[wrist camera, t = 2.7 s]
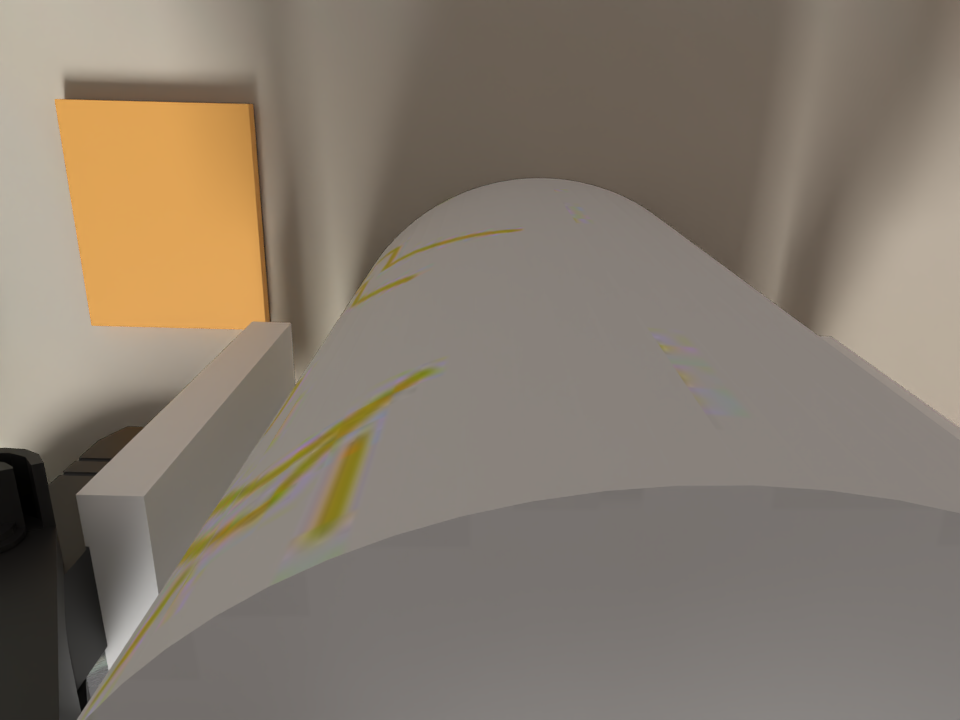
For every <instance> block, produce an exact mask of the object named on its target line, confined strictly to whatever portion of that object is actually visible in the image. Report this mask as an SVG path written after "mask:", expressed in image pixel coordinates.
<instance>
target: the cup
mask: <svg viewBox="0 0 960 720" xmlns="http://www.w3.org/2000/svg"><path fill="white" fill-rule="evenodd" d="M77 720H960V440H959V439H957V438H956V437H955V436H953V435H952V434H951V433H949V432H948V431H947V430H945V429H944V428H943V427H941V426H940V425H938V424H937V423H936V422H934V421H933V420H932V419H930V418H929V417H928V416H926V415H925V414H924V413H922V412H921V411H920V410H918V409H917V408H915V407H914V406H913V405H911V404H910V403H909V402H907V401H906V400H905V399H903V398H902V397H901V396H899V395H898V394H896V393H895V392H894V391H892V390H891V389H890V388H888V387H887V386H886V385H884V384H883V383H882V382H880V381H879V380H878V379H876V378H875V377H873V376H872V375H871V374H869V373H868V372H867V371H865V370H864V369H863V368H861V367H860V366H859V365H857V364H856V363H854V362H853V361H852V360H850V359H849V358H848V357H846V356H845V355H844V354H842V353H841V352H840V351H838V350H837V349H835V348H834V347H833V346H831V345H830V344H829V343H827V342H826V341H825V340H823V339H822V338H821V337H819V336H818V335H817V334H815V333H814V332H812V331H811V330H810V329H808V328H807V327H806V326H804V325H803V324H802V323H800V322H799V321H798V320H796V319H795V318H793V317H792V316H791V315H789V314H788V313H787V312H785V311H784V310H783V309H781V308H780V307H779V306H777V305H776V304H775V303H773V302H772V301H770V300H769V299H768V298H766V297H765V296H764V295H762V294H761V293H760V292H758V291H757V290H756V289H754V288H753V287H751V286H750V285H749V284H747V283H746V282H745V281H743V280H742V279H741V278H739V277H738V276H737V275H735V274H734V273H732V272H731V271H730V270H728V269H727V268H726V267H724V266H723V265H722V264H720V263H719V262H718V261H716V260H715V259H714V258H712V257H711V256H709V255H708V254H707V253H705V252H704V251H703V250H701V249H700V248H699V247H697V246H696V245H695V244H693V243H692V242H690V241H689V240H688V239H686V238H685V237H684V236H682V235H681V234H680V233H678V232H677V231H676V230H674V229H673V228H671V227H670V226H669V225H667V224H666V223H665V222H663V221H662V220H661V219H659V218H658V217H657V216H655V215H654V214H653V213H651V212H650V211H648V210H646V209H645V208H643V207H642V206H640V205H639V204H637V203H635V202H633V201H631V200H629V199H627V198H625V197H623V196H621V195H619V194H616V193H614V192H612V191H609V190H606V189H603V188H600V187H597V186H594V185H590V184H586V183H582V182H577V181H570V180H564V179H552V178H526V179H515V180H508V181H502V182H497V183H493V184H489V185H485V186H481V187H478V188H475V189H472V190H469V191H466V192H464V193H462V194H459V195H457V196H455V197H452V198H450V199H448V200H447V201H445V202H443V203H441V204H439V205H437V206H436V207H434V208H432V209H431V210H429V211H428V212H426V213H425V214H423V215H422V216H421V217H419V218H418V219H417V220H415V221H414V222H413V223H411V224H410V225H409V226H408V227H407V228H406V229H405V230H404V231H402V232H401V233H400V234H399V235H398V236H397V237H396V238H395V239H394V240H393V242H392V243H391V244H390V245H389V246H388V247H387V248H386V250H385V251H384V252H383V253H382V255H381V256H380V257H379V259H378V260H377V261H376V263H375V264H374V266H373V267H372V269H371V270H370V272H369V273H368V275H367V277H366V278H365V280H364V281H363V283H362V284H361V286H360V287H359V289H358V290H357V292H356V293H355V295H354V296H353V298H352V299H351V301H350V303H349V304H348V306H347V307H346V309H345V310H344V312H343V313H342V315H341V316H340V318H339V319H338V321H337V322H336V324H335V325H334V327H333V329H332V330H331V332H330V333H329V335H328V336H327V338H326V339H325V341H324V342H323V344H322V345H321V347H320V348H319V350H318V351H317V353H316V355H315V356H314V358H313V359H312V361H311V362H310V364H309V365H308V367H307V368H306V370H305V371H304V373H303V374H302V376H301V377H300V379H299V381H298V382H297V384H296V385H295V387H294V388H293V390H292V391H291V393H290V394H289V396H288V397H287V399H286V400H285V402H284V403H283V405H282V407H281V408H280V410H279V411H278V413H277V414H276V416H275V417H274V419H273V420H272V422H271V423H270V425H269V426H268V428H267V429H266V431H265V433H264V434H263V436H262V437H261V439H260V440H259V442H258V443H257V445H256V446H255V448H254V449H253V451H252V452H251V454H250V455H249V457H248V459H247V460H246V462H245V463H244V465H243V466H242V468H241V469H240V471H239V472H238V474H237V475H236V477H235V478H234V480H233V481H232V483H231V485H230V486H229V488H228V489H227V491H226V492H225V494H224V495H223V497H222V498H221V500H220V501H219V503H218V504H217V506H216V507H215V509H214V511H213V512H212V514H211V515H210V517H209V518H208V520H207V521H206V523H205V524H204V526H203V527H202V529H201V530H200V532H199V533H198V535H197V537H196V538H195V540H194V541H193V543H192V544H191V546H190V547H189V549H188V550H187V552H186V553H185V555H184V556H183V558H182V560H181V561H180V563H179V564H178V566H177V567H176V569H175V570H174V572H173V573H172V575H171V576H170V578H169V579H168V581H167V582H166V584H165V586H164V587H163V589H162V590H161V592H160V593H159V595H158V596H157V598H156V599H155V601H154V602H153V604H152V605H151V607H150V608H149V610H148V612H147V613H146V615H145V616H144V618H143V619H142V621H141V622H140V624H139V625H138V627H137V628H136V630H135V631H134V633H133V634H132V636H131V638H130V639H129V641H128V642H127V644H126V645H125V647H124V648H123V650H122V651H121V653H120V654H119V656H118V657H117V659H116V660H115V662H114V664H113V665H112V667H111V668H110V670H109V671H108V673H107V674H106V676H105V677H104V679H103V680H102V682H101V683H100V685H99V686H98V688H97V690H96V691H95V693H94V694H93V696H92V697H91V699H90V700H89V702H88V703H87V705H86V706H85V708H84V709H83V711H82V712H81V714H80V716H79V717H78V719H77Z"/></svg>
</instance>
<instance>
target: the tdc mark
mask: <svg viewBox="0 0 960 720" xmlns="http://www.w3.org/2000/svg"><path fill="white" fill-rule="evenodd" d="M55 105H56V111H57V117H58V123H59V129H60V135H61V141H62V147H63V154H64V160H65V166H66V172H67V178H68V184H69V190H70V196H71V203H72V209H73V215H74V221H75V227H76V233H77V239H78V245H79V251H80V258H81V264H82V270H83V276H84V282H85V288H86V294H87V300H88V307H89V313H90V319H91V325H92V326H129V327H168V328H207V329H245V328H246V327H247V326H248V325H249V324H250V323H251V322H270V318H269V305H268V292H267V279H266V266H265V253H264V240H263V227H262V214H261V201H260V188H259V175H258V162H257V149H256V136H255V123H254V110H253V104H232V103H193V102H153V101H114V100H75V99H55Z"/></svg>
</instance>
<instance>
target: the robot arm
mask: <svg viewBox="0 0 960 720" xmlns="http://www.w3.org/2000/svg"><path fill="white" fill-rule="evenodd" d="M819 337H821V338H822V339H823V340H825V341H826V342H827V343H829V344H830V345H831V346H833V347H834V348H835V349H837V350H838V351H840V352H841V353H842V354H844V355H845V356H846V357H848V358H849V359H850V360H852V361H853V362H854V363H856V364H857V365H859V366H860V367H861V368H863V369H864V370H865V371H867V372H868V373H869V374H871V375H872V376H873V377H875V378H876V379H878V380H879V381H880V382H882V383H883V384H884V385H886V386H887V387H888V388H890V389H891V390H892V391H894V392H895V393H896V394H898V395H899V396H901V397H902V398H903V399H905V400H906V401H907V402H909V403H910V404H911V405H913V406H914V407H915V408H917V409H918V410H920V411H921V412H922V413H924V414H925V415H926V416H928V417H929V418H930V419H932V420H933V421H934V422H936V423H937V424H938V425H940V426H941V427H943V428H944V429H945V430H947V431H948V432H949V433H951V434H952V435H953V436H955V437H956V438H957V439H959V440H960V428H959V427H958V426H957V425H955V424H954V423H952V422H951V421H950V420H948V419H947V418H945V417H944V416H943V415H941V414H940V413H938V412H937V411H936V410H934V409H933V408H931V407H930V406H929V405H927V404H926V403H924V402H923V401H922V400H920V399H919V398H917V397H916V396H915V395H913V394H912V393H910V392H909V391H908V390H906V389H905V388H903V387H902V386H900V385H899V384H898V383H896V382H895V381H893V380H892V379H891V378H889V377H888V376H886V375H885V374H884V373H882V372H881V371H879V370H878V369H877V368H875V367H874V366H872V365H871V364H870V363H868V362H867V361H865V360H864V359H863V358H861V357H860V356H858V355H857V354H856V353H854V352H853V351H851V350H850V349H848V348H847V347H846V346H844V345H843V344H841V343H840V342H839V341H837V340H836V339H834V338H833V337H832V336H819ZM294 387H295V372H294V357H293V342H292V327H291V323H287V322H251V323H250V324H249V325H248V326H247V327H246V328H245V329H244V330H243V331H242V332H241V333H240V334H239V335H238V336H237V337H236V338H235V339H234V340H233V341H232V342H231V343H230V344H229V345H228V346H227V347H226V348H225V349H224V350H223V351H222V352H221V353H220V354H219V355H218V356H217V357H216V358H215V359H214V360H213V361H212V362H211V363H210V364H209V365H208V366H207V367H206V368H204V369H203V370H202V371H201V372H200V373H199V374H198V375H197V376H196V377H195V378H194V379H193V380H192V381H191V382H190V383H189V384H188V385H187V386H186V387H185V388H184V389H183V390H182V391H181V392H180V393H179V394H178V395H177V396H176V397H175V398H174V399H173V400H172V401H171V402H170V403H169V404H168V405H167V406H166V407H165V408H164V409H163V410H162V411H161V412H160V413H159V414H158V415H157V416H155V417H154V418H153V419H152V420H151V421H150V422H149V423H148V424H147V425H146V426H145V427H125V428H123V429H121V430H119V431H117V432H115V433H113V434H111V435H109V436H107V437H105V438H103V439H101V440H99V441H97V442H96V443H95V444H94V445H93V446H92V447H91V448H90V449H88V450H87V451H86V452H85V453H84V454H83V455H82V456H81V457H80V458H79V461H75V462H74V463H73V464H72V465H71V466H70V467H68V468H67V469H66V470H65V471H64V475H59V476H58V477H57V478H56V479H55V480H54V481H53V482H52V483H51V484H49V485H48V483H47V478H46V473H45V468H44V463H43V461H42V459H41V458H40V456H39V454H36V453H34V452H31V451H28V450H26V449H14V448H0V720H77V719H78V717H79V716H80V714H81V712H82V711H83V709H84V708H85V706H86V705H87V703H88V702H89V700H90V699H91V697H90V692H89V687H88V682H87V676H88V674H89V673H90V671H91V670H92V668H93V667H94V665H95V664H96V662H97V661H98V660H99V658H100V657H101V655H102V654H103V652H104V651H105V654H106V659H107V665H108V670H110V668H111V667H112V665H113V664H114V662H115V660H116V659H117V657H118V656H119V654H120V653H121V651H122V650H123V648H124V647H125V645H126V644H127V642H128V641H129V639H130V638H131V636H132V634H133V633H134V631H135V630H136V628H137V627H138V625H139V624H140V622H141V621H142V619H143V618H144V616H145V615H146V613H147V612H148V610H149V608H150V607H151V605H152V604H153V602H154V601H155V599H156V598H157V596H158V595H159V593H160V592H161V590H162V589H163V587H164V586H165V584H166V582H167V581H168V579H169V578H170V576H171V575H172V573H173V572H174V570H175V569H176V567H177V566H178V564H179V563H180V561H181V560H182V558H183V556H184V555H185V553H186V552H187V550H188V549H189V547H190V546H191V544H192V543H193V541H194V540H195V538H196V537H197V535H198V533H199V532H200V530H201V529H202V527H203V526H204V524H205V523H206V521H207V520H208V518H209V517H210V515H211V514H212V512H213V511H214V509H215V507H216V506H217V504H218V503H219V501H220V500H221V498H222V497H223V495H224V494H225V492H226V491H227V489H228V488H229V486H230V485H231V483H232V481H233V480H234V478H235V477H236V475H237V474H238V472H239V471H240V469H241V468H242V466H243V465H244V463H245V462H246V460H247V459H248V457H249V455H250V454H251V452H252V451H253V449H254V448H255V446H256V445H257V443H258V442H259V440H260V439H261V437H262V436H263V434H264V433H265V431H266V429H267V428H268V426H269V425H270V423H271V422H272V420H273V419H274V417H275V416H276V414H277V413H278V411H279V410H280V408H281V407H282V405H283V403H284V402H285V400H286V399H287V397H288V396H289V394H290V393H291V391H292V390H293V388H294Z"/></svg>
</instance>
